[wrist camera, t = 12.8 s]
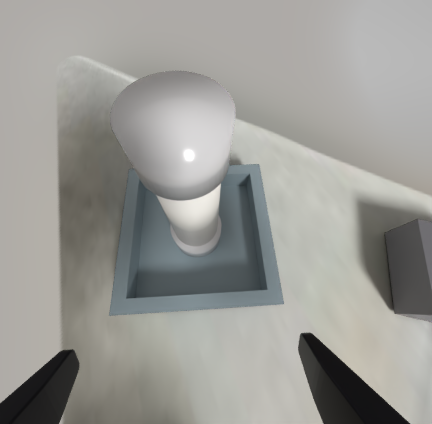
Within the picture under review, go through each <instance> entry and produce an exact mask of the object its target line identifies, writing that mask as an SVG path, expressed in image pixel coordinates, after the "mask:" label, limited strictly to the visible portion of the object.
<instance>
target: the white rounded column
mask: <svg viewBox="0 0 432 424" xmlns="http://www.w3.org/2000/svg"><path fill="white" fill-rule="evenodd" d="M235 113H236V112H235V105H234V102H233V99H232V97H231V96H230V94H229V93H228V91H227V90H226V89H225V88H224V87H223V86H222V85H220V84H219V83H218V82H216V81H215V80H213V79H211V78H209V77H206V76H204V75H201V74H197V73H192V72H186V71H166V72H160V73H156V74H152V75H149V76H146V77H143V78H141V79H139V80H137V81H135V82H133V83H132V84H130V85H129V86H128V87H126V88H125V89H124V90H123V91H122V92H121V93H120V94H119V95H118V97H117V98H116V100H115V101H114V103H113V106H112V109H111V112H110V124H111V127H112V131H113V132H114V134H115V136H116V138H117V140H118V141H119V143H120V145H121V147H122V149H123V150H124V152H125V154H126V156H127V157H128V159H129V161H130V163H131V164H132V166H133V168H134V170H135V172H136V173H137V175H138V177H139V179H140V180H141V182H142V183H143V185H144V186H145V187H146V188H147V189H148V190H149V191H151V192H152V193H154V194H156V196H157V198H158V200H159V202H160V204H161V206H162V208H163V210H164V212H165V214H166V216H167V218H168V220H169V222H170V230H171V234H172V237H173V239H174V240H175V242H176V244H177V246H178V248H179V249H180V250H181V251H182V252H183V253H184V254H186V255H188V256H190V257H204V256H207V255H209V254H210V253H212V252H213V251H214V250H215V249H216V247H217V246H218V244H219V241H220V235H221V219H220V217H219V202H220V188H221V182H222V181H223V180H224V178H225V177H226V174H227V172H228V168H229V162H230V154H231V146H232V138H233V130H234V122H235Z"/></svg>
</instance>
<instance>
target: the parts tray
mask: <svg viewBox="0 0 432 424" xmlns="http://www.w3.org/2000/svg"><path fill="white" fill-rule="evenodd" d="M219 217H220V219H221V235H220V241H219V244H218V246H217V247H216V249H215V250H214V251H213V252H212V253H210V254H209V255H207V256H204V257H190V256H188V255H186V254H184V253H183V252H182V251H181V250H180V249H179V248H178V246H177V244H176V242H175V240H174V239H173V237H172V234H171V230H170V222H169V220H168V218H167V216H166V214H165V212H164V210H163V208H162V206H161V204H160V202H159V200H158V198H157V196H156V194H154V193H152V192H151V191H149V190H148V189H147V188H146V187H145V186H144V185H143V183H142V182H141V180H140V179H139V177H138V175H137V173H136V172H135V170H134V169H129V173H128V180H127V187H126V195H125V202H124V210H123V217H122V224H121V232H120V239H119V246H118V254H117V261H116V269H115V276H114V283H113V291H112V298H111V306H110V313H109V316H112V315H127V314H142V313H157V312H172V311H187V310H203V309H218V308H233V307H248V306H263V305H278V304H284V301H283V295H282V290H281V284H280V278H279V273H278V267H277V262H276V256H275V250H274V245H273V239H272V233H271V228H270V222H269V216H268V211H267V205H266V200H265V194H264V188H263V183H262V177H261V171H260V166H259V164H249V165H229V168H228V172H227V174H226V177H225V178H224V180H223V181H222V182H221V188H220V202H219Z"/></svg>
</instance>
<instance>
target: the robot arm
mask: <svg viewBox="0 0 432 424" xmlns="http://www.w3.org/2000/svg"><path fill="white" fill-rule="evenodd" d="M298 350H299V355H300V358H301V361H302V364H303V367H304V371H305V374H306V377H307V380H308V383H309V386H310V390H311V393H312V396H313V399H314V401H315V404H316V406H317V409H318V411H319V414H320V416H321V419H322V421H323V423H324V424H410V423H409V422H408V421H407V420H406V419H404V418H403V417H402V416H401V415H400V414H399V413H398V412H397V411H396V410H395V409H394V408H392V407H391V406H390V405H389V404H388V403H387V402H386V401H385V400H384V399H383V398H382V397H381V396H379V395H378V394H377V393H376V392H375V391H374V390H373V389H372V388H371V387H370V386H369V385H367V384H366V383H365V382H364V381H363V380H362V379H361V378H360V377H359V376H358V375H357V374H356V373H354V372H353V371H352V370H351V369H350V368H349V367H348V366H347V365H346V364H345V363H344V362H343V361H341V360H340V359H339V358H338V357H337V356H336V355H335V354H334V353H333V352H332V351H331V350H329V349H328V348H327V347H326V346H325V345H324V344H323V343H322V342H321V341H320V340H319V339H318V338H316V337H315V336H314V335H313V334H312V333H301V334H300V339H299V346H298ZM78 370H79V361H78V358H77V356H76V353H75V351H74V350H63V351H61V352H59V353H58V354H57V355H56V356H55V357H54V358H52V359H51V360H50V361H49V362H48V363H46V364H45V365H44V366H43V367H42V368H41V369H39V370H38V371H37V372H36V373H35V374H34V375H33V376H31V377H30V378H29V379H28V380H27V381H26V382H24V383H23V384H22V385H21V386H20V387H19V388H17V389H16V390H15V391H14V392H13V393H12V394H11V395H9V396H8V397H7V398H6V399H5V400H4V401H2V402H1V403H0V424H59V422H60V420H61V417H62V415H63V412H64V409H65V407H66V404H67V401H68V398H69V395H70V393H71V390H72V387H73V384H74V382H75V379H76V376H77V373H78Z"/></svg>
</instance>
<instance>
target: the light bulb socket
mask: <svg viewBox="0 0 432 424" xmlns="http://www.w3.org/2000/svg"><path fill="white" fill-rule="evenodd" d="M385 237H386V246H387V254H388V262H389V271H390V279H391V287H392V296H393V304H394V312H395V314H399V315H403V316H407V317H412V318H416V319H420V320H424V321H429V322H432V222H431V221H426V220H421V219H416V220H414V221H412V222H409V223H407V224H404V225H402V226H400V227H397V228H395V229H393V230H390V231H388V232H385Z"/></svg>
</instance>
